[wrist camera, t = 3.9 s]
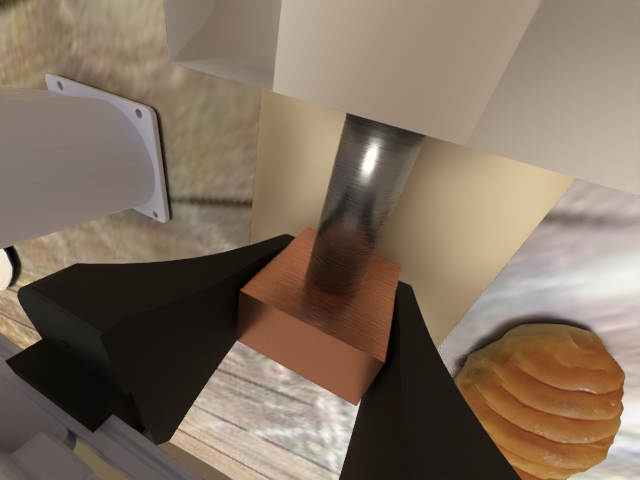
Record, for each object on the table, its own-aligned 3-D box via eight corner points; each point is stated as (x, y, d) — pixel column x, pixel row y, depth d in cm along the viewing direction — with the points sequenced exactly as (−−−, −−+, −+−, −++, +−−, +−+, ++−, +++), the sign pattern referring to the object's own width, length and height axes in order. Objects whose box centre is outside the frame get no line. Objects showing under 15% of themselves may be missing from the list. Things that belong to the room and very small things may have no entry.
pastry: (480, 295, 12) (500, 356, 9) (657, 334, 10) (759, 430, 7) (436, 398, 17) (439, 464, 14) (554, 440, 15) (590, 529, 12)
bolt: (298, 266, 12) (236, 340, 8) (358, -7, 7) (266, -176, 3) (380, 303, 11) (356, 406, 7) (526, 22, 6) (731, -168, 2)
